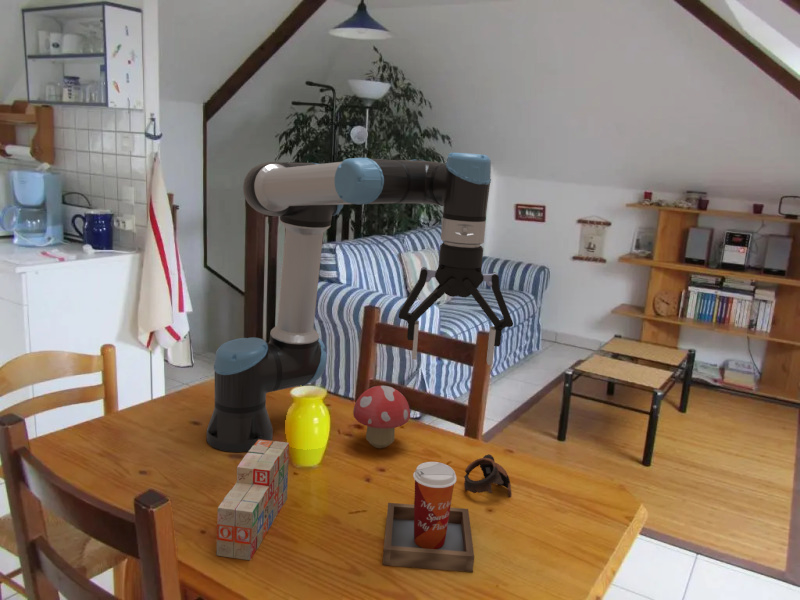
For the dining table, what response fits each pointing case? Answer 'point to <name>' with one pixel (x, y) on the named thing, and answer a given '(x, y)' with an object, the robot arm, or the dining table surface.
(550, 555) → the dining table surface
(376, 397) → the decorative mushroom
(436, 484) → the paper cup
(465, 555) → the tray
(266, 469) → the stack of blocks
